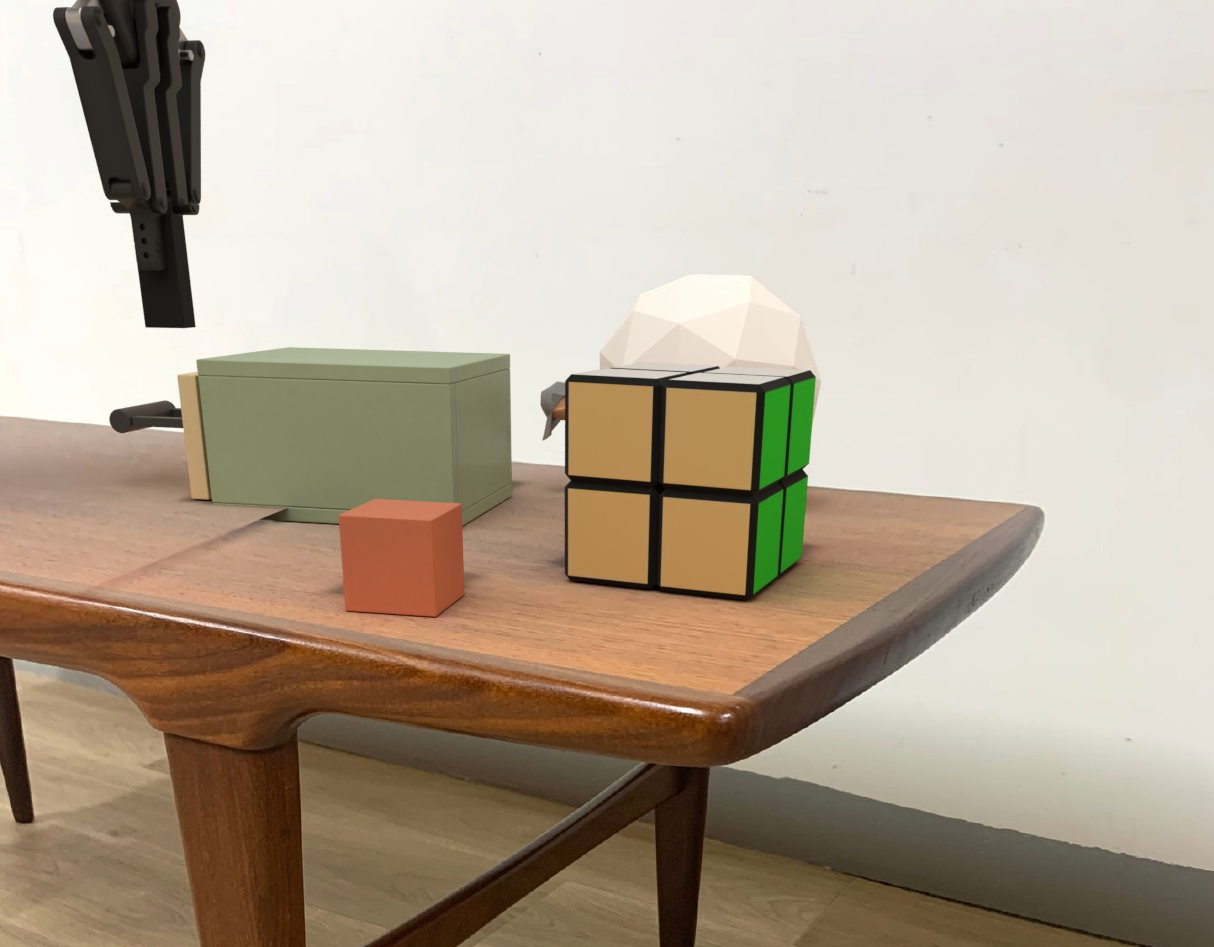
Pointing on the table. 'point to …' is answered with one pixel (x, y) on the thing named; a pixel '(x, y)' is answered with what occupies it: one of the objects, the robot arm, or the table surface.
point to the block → (402, 557)
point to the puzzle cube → (686, 476)
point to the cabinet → (356, 429)
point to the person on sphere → (702, 332)
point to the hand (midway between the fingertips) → (170, 327)
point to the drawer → (175, 418)
